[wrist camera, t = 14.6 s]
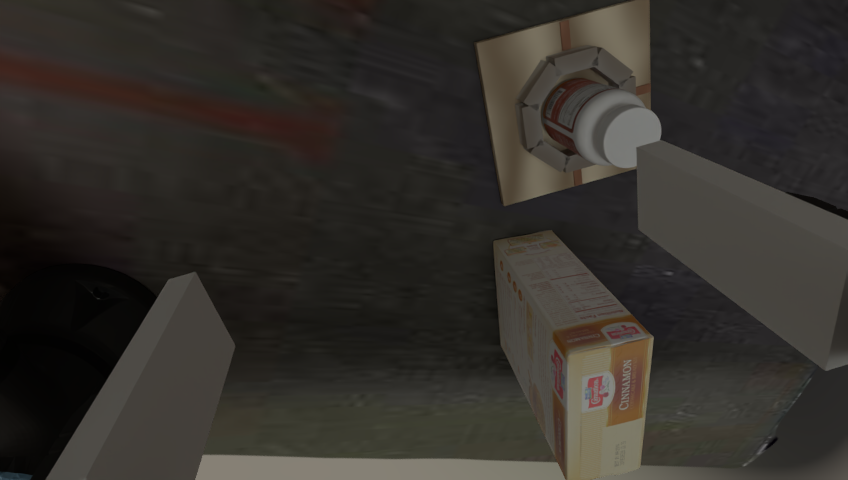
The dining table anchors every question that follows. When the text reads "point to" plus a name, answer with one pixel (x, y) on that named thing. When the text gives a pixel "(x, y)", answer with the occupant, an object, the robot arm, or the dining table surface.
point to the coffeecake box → (573, 355)
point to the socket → (539, 74)
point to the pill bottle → (599, 122)
